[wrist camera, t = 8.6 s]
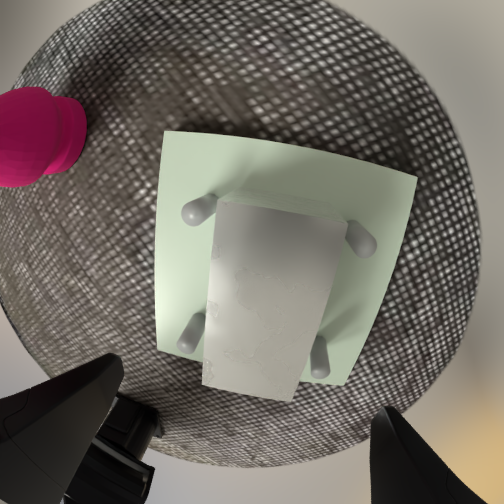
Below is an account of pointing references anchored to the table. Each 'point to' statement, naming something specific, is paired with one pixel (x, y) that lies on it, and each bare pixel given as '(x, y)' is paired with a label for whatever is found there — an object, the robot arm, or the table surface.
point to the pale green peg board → (289, 183)
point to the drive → (267, 289)
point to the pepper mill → (38, 134)
